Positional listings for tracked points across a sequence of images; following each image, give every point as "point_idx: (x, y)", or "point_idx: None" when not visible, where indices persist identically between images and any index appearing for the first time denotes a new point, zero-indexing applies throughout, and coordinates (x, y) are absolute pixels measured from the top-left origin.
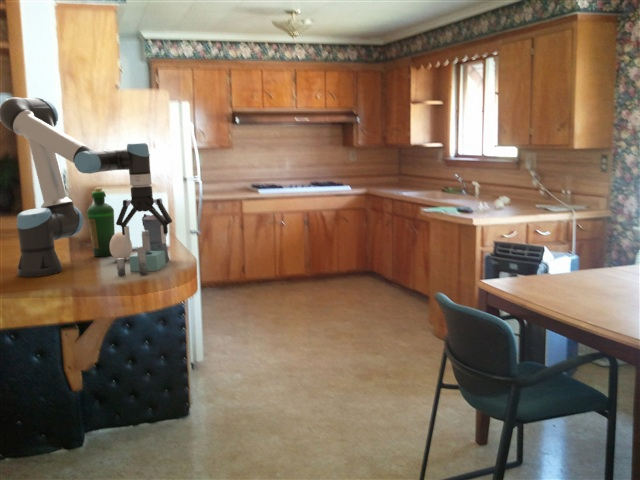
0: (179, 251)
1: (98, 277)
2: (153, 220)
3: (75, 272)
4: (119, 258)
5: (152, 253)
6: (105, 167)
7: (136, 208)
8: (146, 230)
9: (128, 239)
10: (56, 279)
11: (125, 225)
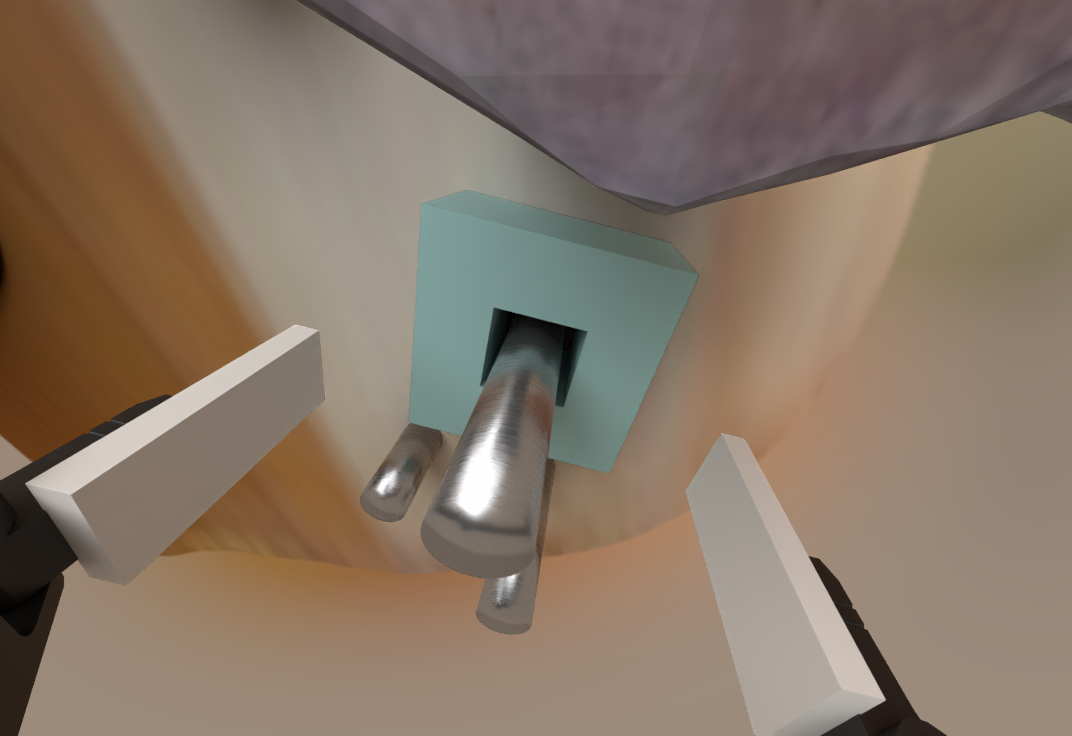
0: None
1: (321, 435)
2: (692, 198)
3: (105, 267)
4: (374, 498)
5: (578, 377)
6: None
7: None
8: (494, 516)
9: (288, 399)
10: (131, 401)
11: (38, 554)
